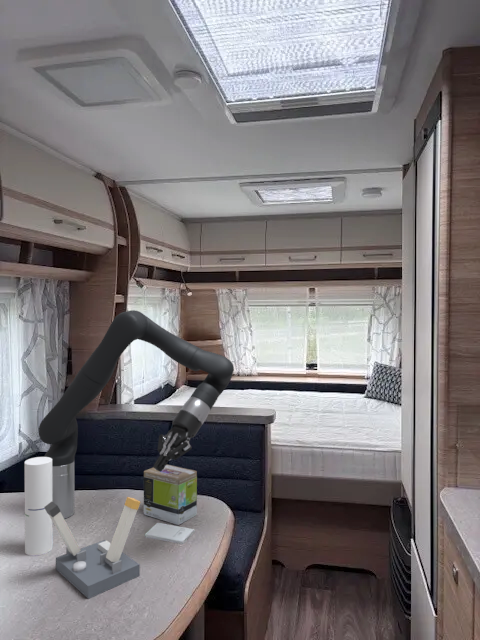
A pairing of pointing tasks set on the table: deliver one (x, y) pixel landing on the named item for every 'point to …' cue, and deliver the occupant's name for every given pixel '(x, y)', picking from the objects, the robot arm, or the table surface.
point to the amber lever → (122, 530)
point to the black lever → (62, 528)
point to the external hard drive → (169, 533)
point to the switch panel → (96, 569)
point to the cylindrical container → (38, 506)
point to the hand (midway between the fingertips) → (156, 469)
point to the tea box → (170, 494)
